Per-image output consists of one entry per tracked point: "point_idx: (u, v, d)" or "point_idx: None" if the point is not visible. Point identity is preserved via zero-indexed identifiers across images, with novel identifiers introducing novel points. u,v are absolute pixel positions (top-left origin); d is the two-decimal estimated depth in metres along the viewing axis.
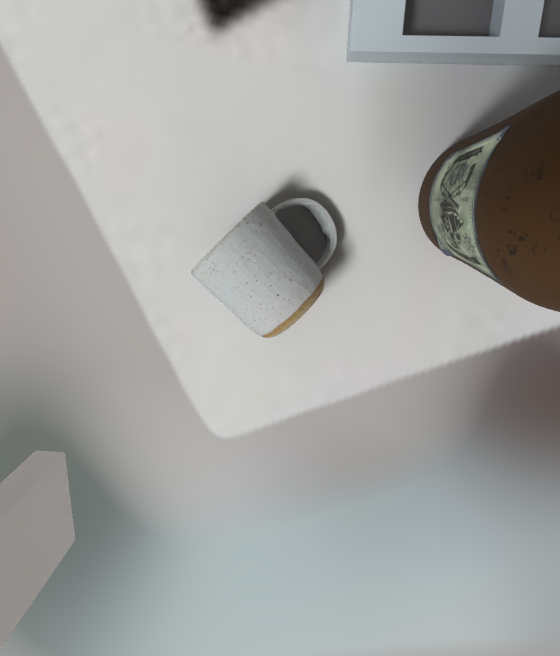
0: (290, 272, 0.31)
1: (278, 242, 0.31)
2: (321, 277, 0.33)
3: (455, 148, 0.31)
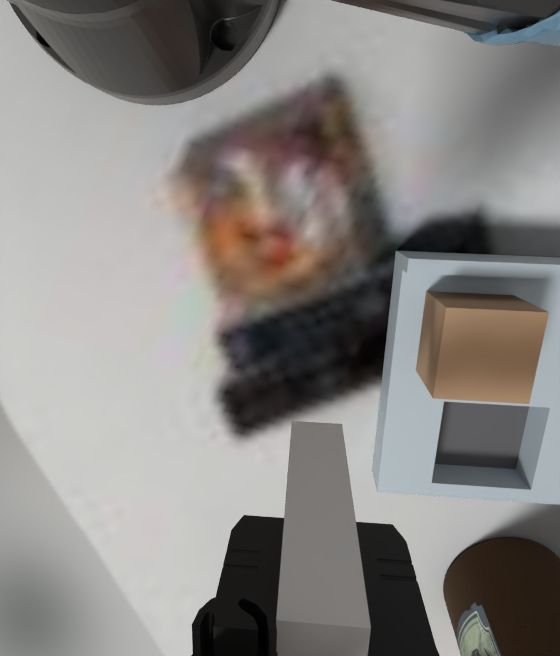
0: None
1: None
2: None
3: (485, 590, 0.30)
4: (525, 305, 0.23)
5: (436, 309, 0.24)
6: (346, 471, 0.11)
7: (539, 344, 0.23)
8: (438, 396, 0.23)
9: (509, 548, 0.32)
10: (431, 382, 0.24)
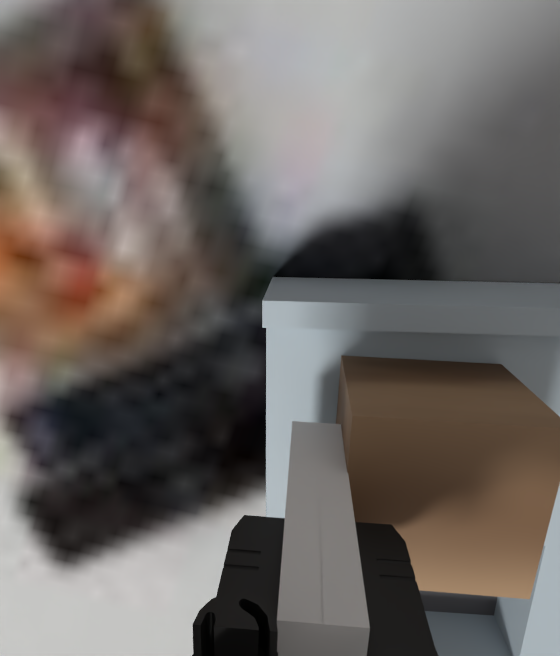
0: None
1: None
2: None
3: None
4: (522, 401, 0.11)
5: (345, 405, 0.12)
6: (345, 471, 0.11)
7: (552, 488, 0.11)
8: None
9: None
10: None
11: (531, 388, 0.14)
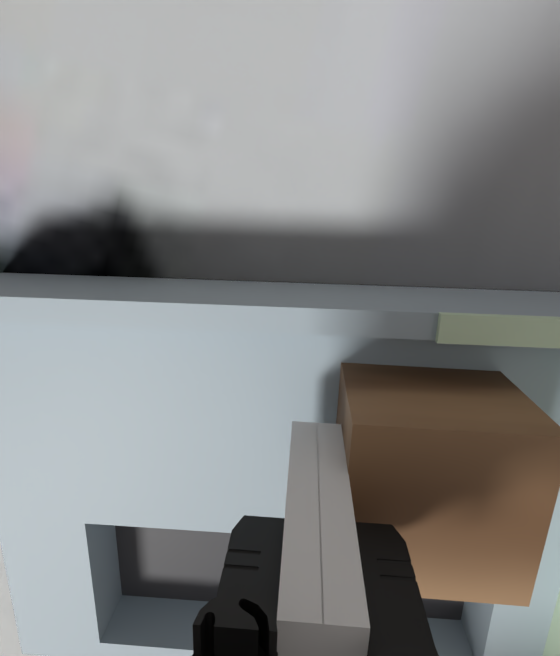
0: None
1: None
2: None
3: None
4: (521, 409, 0.11)
5: (346, 413, 0.12)
6: (345, 471, 0.11)
7: (551, 497, 0.11)
8: None
9: None
10: None
11: (211, 381, 0.15)
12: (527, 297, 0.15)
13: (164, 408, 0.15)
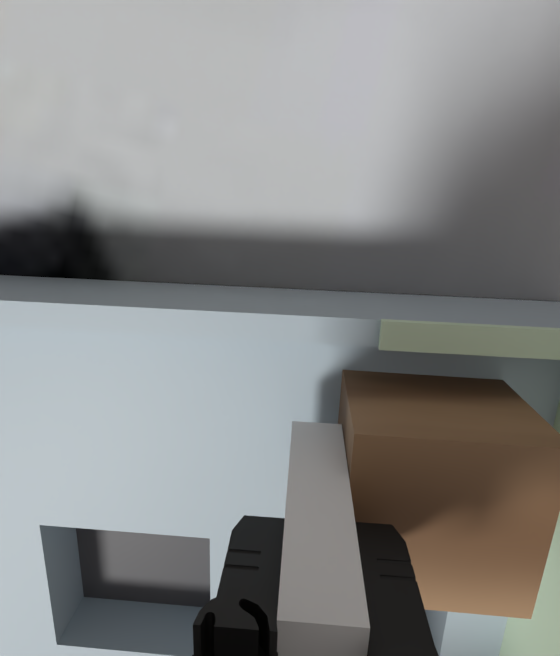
0: None
1: None
2: None
3: None
4: (525, 419, 0.11)
5: (347, 421, 0.12)
6: (345, 471, 0.11)
7: (554, 509, 0.11)
8: None
9: None
10: None
11: (162, 384, 0.15)
12: (478, 304, 0.15)
13: (115, 411, 0.15)
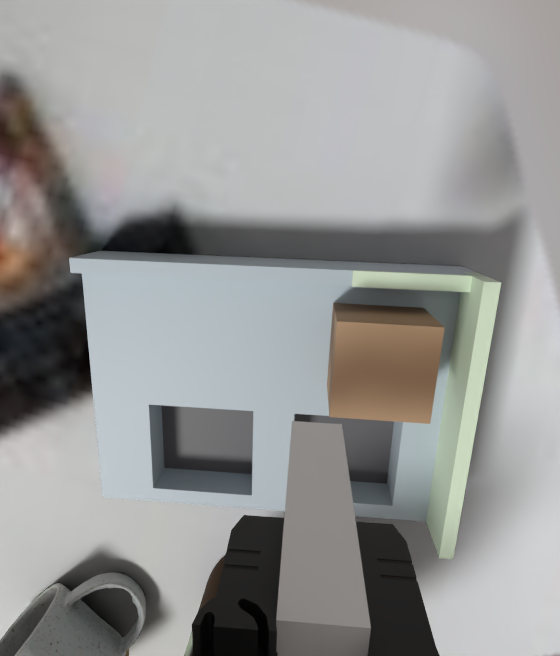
0: None
1: None
2: None
3: None
4: (426, 319, 0.22)
5: (334, 323, 0.22)
6: (346, 471, 0.11)
7: (438, 361, 0.21)
8: (335, 414, 0.22)
9: None
10: (330, 399, 0.23)
11: (229, 313, 0.25)
12: (412, 266, 0.25)
13: (200, 330, 0.26)
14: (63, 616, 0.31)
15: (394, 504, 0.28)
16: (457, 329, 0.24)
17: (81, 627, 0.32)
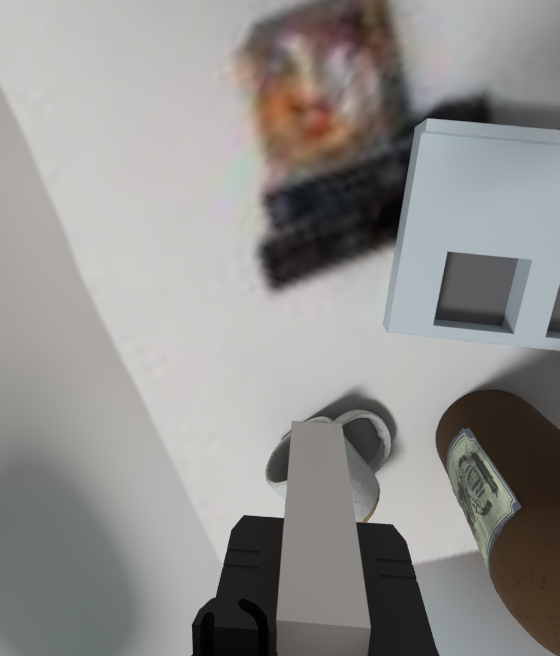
0: (355, 495, 0.36)
1: None
2: (378, 488, 0.38)
3: (471, 419, 0.36)
4: None
5: None
6: (346, 471, 0.11)
7: None
8: None
9: (493, 394, 0.39)
10: None
11: (532, 175, 0.32)
12: None
13: (505, 188, 0.33)
14: None
15: None
16: None
17: (350, 444, 0.39)
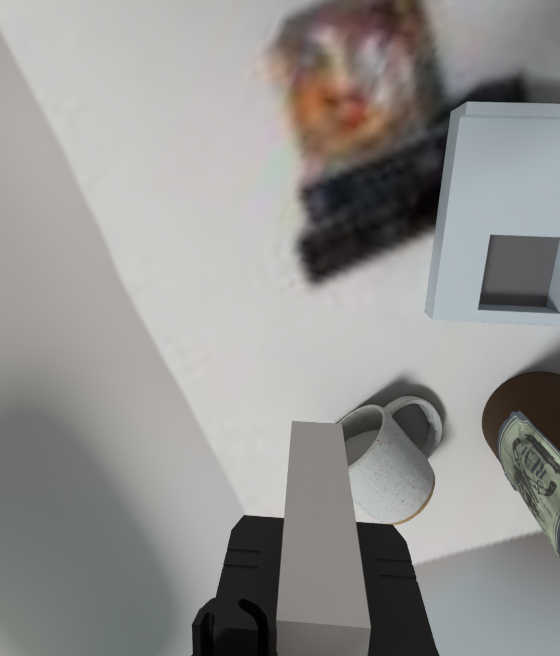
0: (413, 481, 0.36)
1: (403, 454, 0.36)
2: (433, 473, 0.38)
3: (521, 401, 0.36)
4: None
5: None
6: (346, 471, 0.11)
7: None
8: None
9: (540, 376, 0.38)
10: None
11: None
12: None
13: (547, 167, 0.33)
14: (392, 419, 0.38)
15: None
16: None
17: (403, 431, 0.38)
